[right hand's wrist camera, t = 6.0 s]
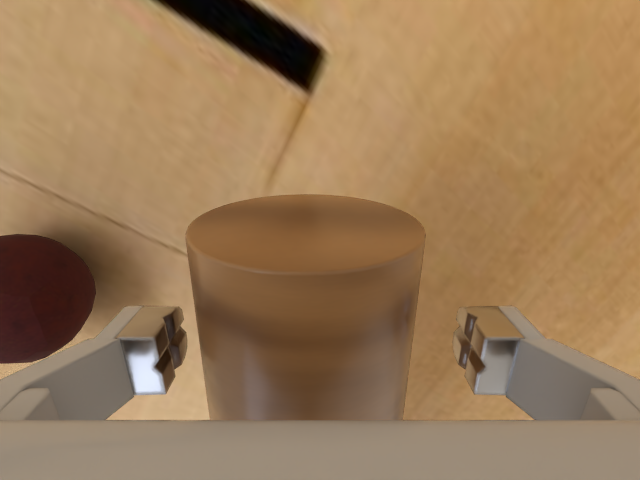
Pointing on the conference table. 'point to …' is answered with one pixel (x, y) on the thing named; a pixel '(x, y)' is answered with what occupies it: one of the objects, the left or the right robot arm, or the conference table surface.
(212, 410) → the cylinder
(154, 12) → the conference table surface
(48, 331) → the potato
